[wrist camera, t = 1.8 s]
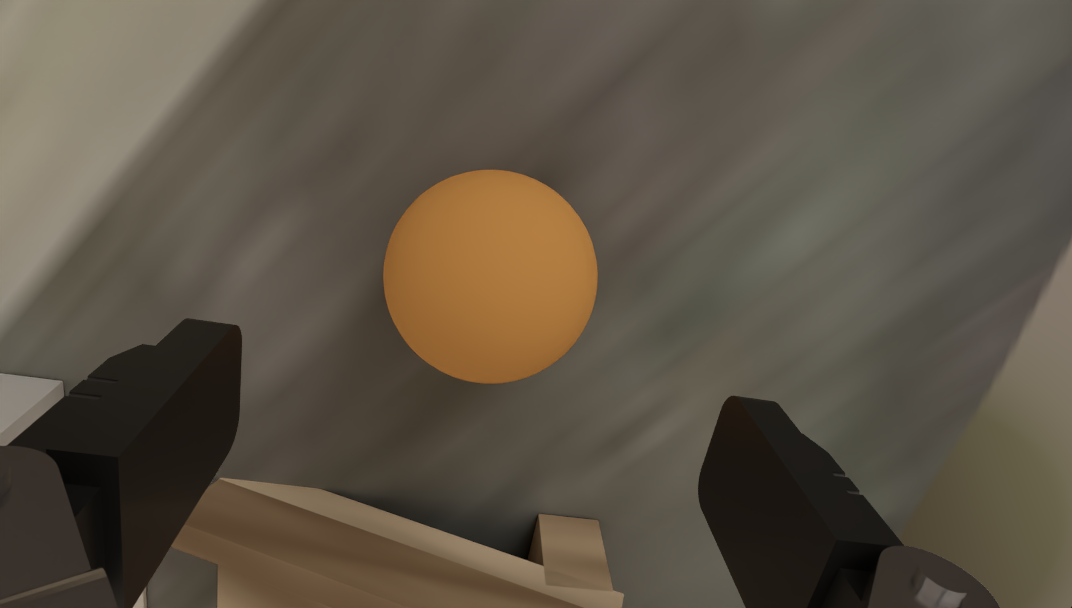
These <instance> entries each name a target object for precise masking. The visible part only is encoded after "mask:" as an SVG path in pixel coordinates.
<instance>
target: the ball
mask: <svg viewBox="0 0 1072 608" xmlns="http://www.w3.org/2000/svg"><path fill="white" fill-rule="evenodd" d="M597 278H598V271H597V262H596V256H595V252H594V248H593V244H592V241H591V239H590V236H589V234H588V231H587V229H586V227H585V226H584V224H583V222H582V220H581V219H580V217H579V216H578V215H577V213H576V212H575V211H574V209H573V208H572V207H571V206H570V204H569V203H568V202H567V201H566V200H565V199H564V198H562V197H561V196H560V195H559V194H558V193H557V192H555V191H554V190H553V189H551V188H550V187H548V186H547V185H545V184H543V183H541V182H539V181H538V180H536V179H533V178H530V177H528V176H525V175H523V174H518V173H514V172H510V171H503V170H477V171H471V172H465V173H462V174H458V175H455V176H452V177H450V178H447V179H445V180H443V181H441V182H439V183H437V184H436V185H434V186H432V187H431V188H429V189H428V190H426V191H425V192H424V193H423V194H421V195H420V196H419V197H418V198H417V199H416V200H415V201H414V202H413V203H412V204H411V205H410V206H409V207H408V209H407V210H406V211H405V213H404V214H403V216H402V217H401V218H400V220H399V221H398V223H397V225H396V227H395V229H394V231H393V233H392V235H391V238H390V241H389V244H388V247H387V251H386V256H385V261H384V271H383V282H384V291H385V298H386V302H387V306H388V310H389V312H390V315H391V317H392V320H393V322H394V324H395V325H396V327H397V329H398V331H399V332H400V334H401V336H402V337H403V339H404V340H405V341H406V343H407V344H408V345H409V347H410V348H411V349H412V350H413V351H414V352H415V353H416V354H417V355H418V356H419V357H421V358H422V359H423V360H425V361H426V362H427V363H428V364H430V365H432V366H433V367H435V368H437V369H438V370H440V371H442V372H444V373H446V374H448V375H450V376H453V377H456V378H459V379H462V380H465V381H471V382H476V383H488V384H491V383H505V382H511V381H516V380H519V379H523V378H526V377H529V376H531V375H534V374H536V373H538V372H540V371H541V370H543V369H545V368H547V367H548V366H550V365H551V364H553V363H554V362H555V361H557V360H558V359H560V358H561V357H562V356H563V355H564V354H565V353H566V352H567V351H568V350H569V349H570V348H571V347H572V345H573V344H574V343H575V342H576V341H577V339H578V337H579V336H580V334H581V333H582V331H583V330H584V328H585V326H586V324H587V322H588V320H589V317H590V315H591V312H592V309H593V306H594V303H595V297H596V291H597Z"/></svg>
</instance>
